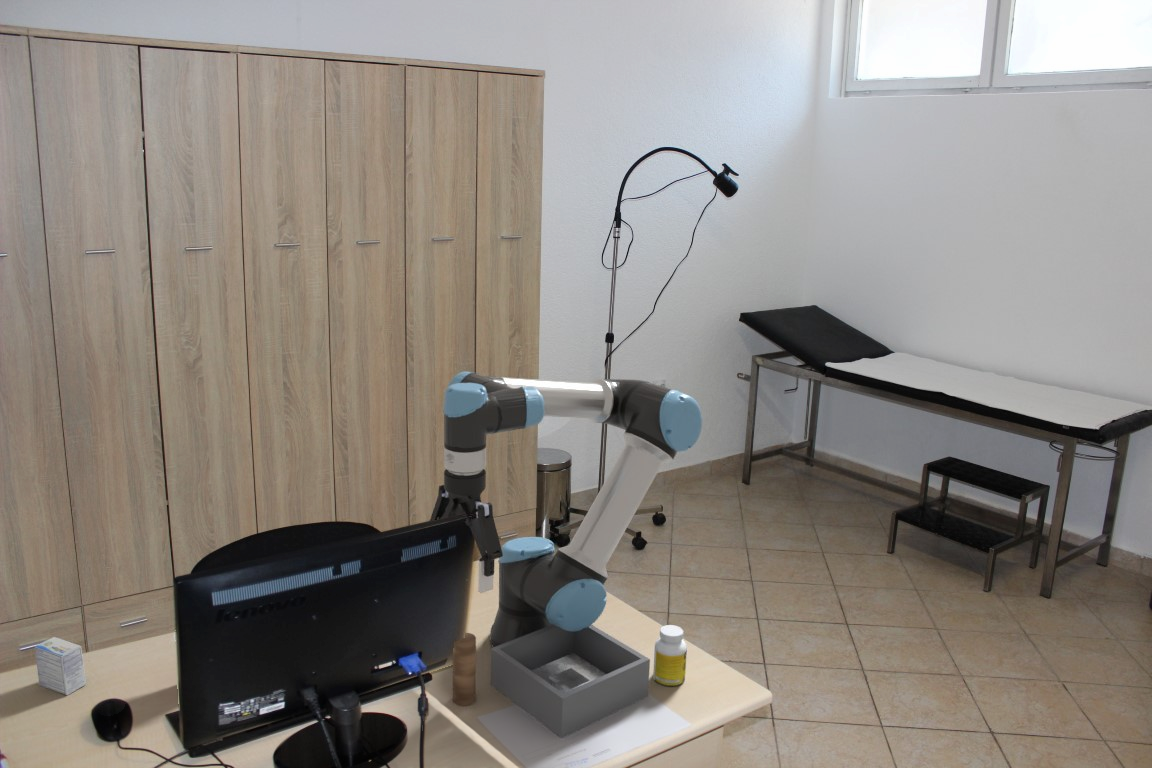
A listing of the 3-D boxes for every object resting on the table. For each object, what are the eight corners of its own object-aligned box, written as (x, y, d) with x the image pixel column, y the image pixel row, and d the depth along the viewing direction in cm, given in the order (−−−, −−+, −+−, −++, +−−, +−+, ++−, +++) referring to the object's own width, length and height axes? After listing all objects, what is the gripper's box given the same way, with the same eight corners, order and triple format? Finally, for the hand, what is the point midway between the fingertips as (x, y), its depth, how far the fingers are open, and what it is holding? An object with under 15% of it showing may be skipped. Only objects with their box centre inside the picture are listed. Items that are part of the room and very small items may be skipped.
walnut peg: (448, 702, 180) (447, 637, 177) (467, 695, 183) (467, 630, 180) (460, 713, 177) (460, 646, 174) (480, 705, 180) (480, 639, 176)
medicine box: (87, 685, 182) (82, 645, 180) (66, 696, 178) (61, 656, 176) (59, 675, 185) (54, 635, 183) (38, 686, 182) (33, 645, 179)
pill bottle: (683, 693, 186) (686, 640, 183) (650, 688, 187) (653, 636, 184) (686, 676, 192) (689, 624, 189) (654, 671, 193) (657, 620, 191)
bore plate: (519, 686, 185) (519, 675, 184) (572, 663, 193) (573, 652, 193) (564, 719, 174) (564, 707, 174) (619, 693, 183) (619, 682, 183)
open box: (490, 689, 185) (491, 648, 183) (574, 653, 199) (576, 615, 197) (561, 742, 169) (562, 698, 167) (647, 700, 183) (649, 659, 181)
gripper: (410, 454, 175) (411, 559, 180) (488, 493, 157) (487, 608, 162) (444, 447, 180) (444, 549, 185) (523, 484, 162) (521, 596, 167)
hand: (464, 577), depth 174 cm, fingers open, 13 cm apart
